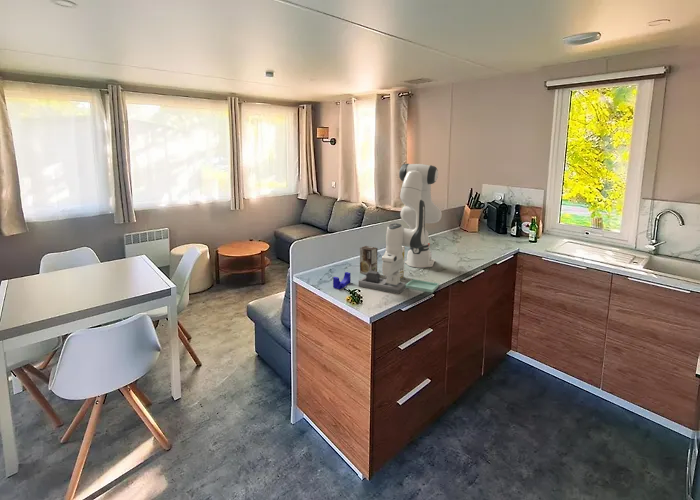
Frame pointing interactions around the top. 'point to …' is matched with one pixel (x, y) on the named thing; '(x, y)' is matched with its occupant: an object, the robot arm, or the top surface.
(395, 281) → the plug
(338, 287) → the cable clip
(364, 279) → the grey compartment holder
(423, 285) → the tray
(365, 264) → the coffee box
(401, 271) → the juice carton
